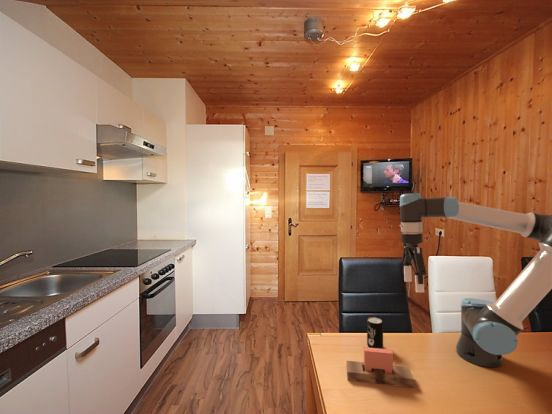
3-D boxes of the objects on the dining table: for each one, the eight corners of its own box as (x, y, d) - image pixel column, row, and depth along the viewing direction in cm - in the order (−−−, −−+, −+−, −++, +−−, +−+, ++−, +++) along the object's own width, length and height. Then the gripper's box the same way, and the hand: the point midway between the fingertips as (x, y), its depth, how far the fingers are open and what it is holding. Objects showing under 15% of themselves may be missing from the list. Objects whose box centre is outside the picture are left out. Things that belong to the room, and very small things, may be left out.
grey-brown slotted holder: (408, 374, 99) (408, 366, 99) (414, 387, 93) (413, 379, 92) (346, 368, 104) (346, 360, 104) (347, 380, 97) (347, 371, 97)
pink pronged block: (391, 376, 99) (391, 349, 98) (393, 381, 96) (392, 353, 96) (363, 373, 100) (363, 347, 100) (364, 378, 98) (364, 350, 98)
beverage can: (384, 352, 114) (384, 324, 114) (368, 350, 116) (368, 322, 116) (381, 344, 121) (381, 317, 121) (366, 342, 122) (366, 316, 122)
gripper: (392, 229, 119) (394, 277, 120) (412, 237, 95) (414, 297, 95) (411, 229, 118) (413, 277, 119) (435, 236, 94) (437, 297, 94)
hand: (413, 286), depth 107 cm, fingers open, 13 cm apart
